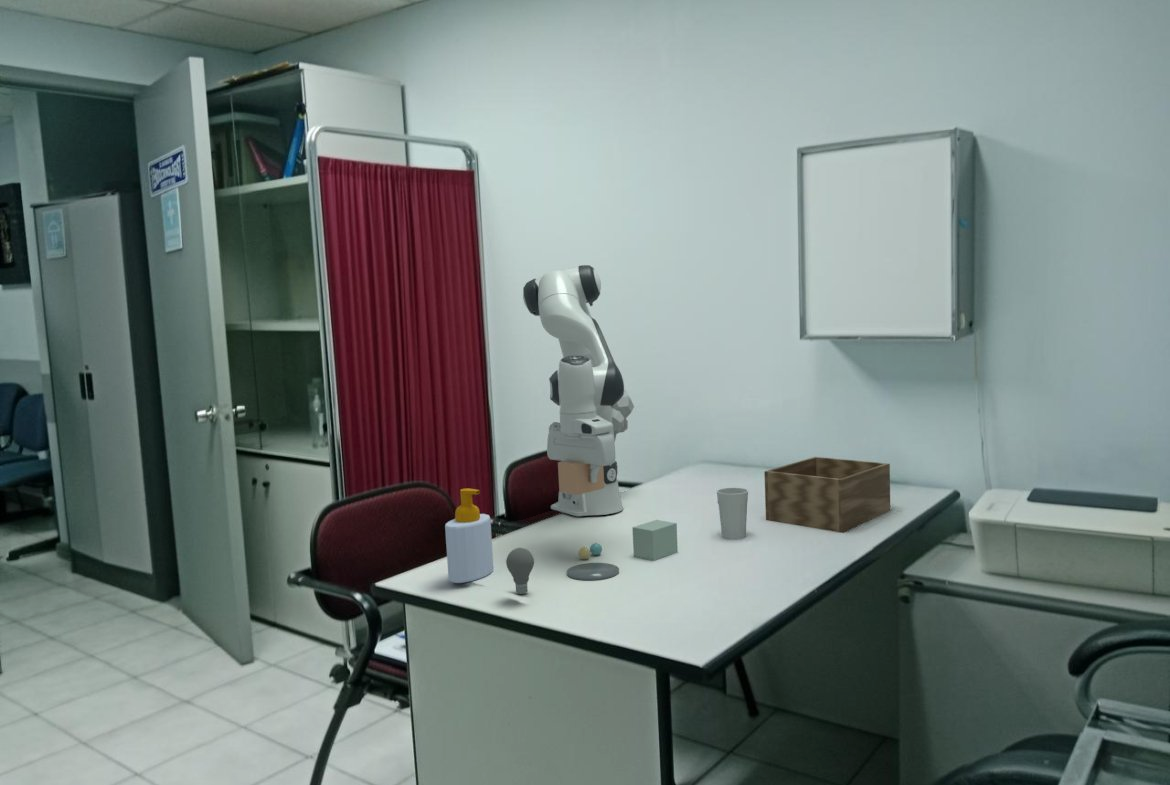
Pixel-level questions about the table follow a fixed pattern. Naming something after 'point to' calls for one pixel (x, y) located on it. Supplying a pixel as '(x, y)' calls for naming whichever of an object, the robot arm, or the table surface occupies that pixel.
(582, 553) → the marble
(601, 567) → the slate coaster
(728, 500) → the cup
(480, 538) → the soap bottle
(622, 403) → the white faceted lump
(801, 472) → the walnut planter box
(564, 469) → the peach smooth rectangular block
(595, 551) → the marble
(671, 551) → the pale green upright block
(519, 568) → the light bulb
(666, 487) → the table surface
